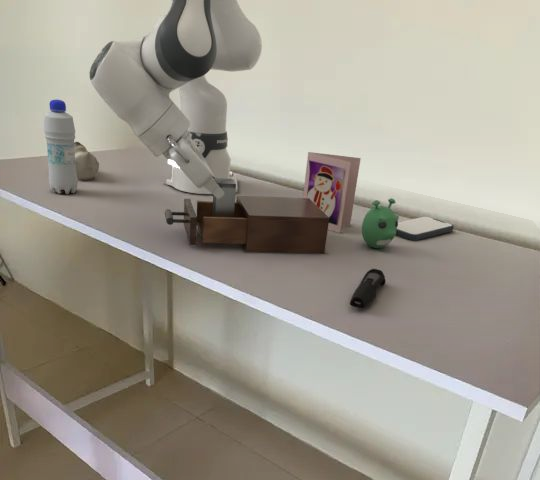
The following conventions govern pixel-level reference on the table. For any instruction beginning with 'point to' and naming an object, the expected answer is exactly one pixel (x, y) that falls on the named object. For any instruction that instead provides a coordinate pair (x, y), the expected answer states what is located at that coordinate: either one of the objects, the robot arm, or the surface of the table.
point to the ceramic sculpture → (85, 162)
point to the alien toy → (380, 225)
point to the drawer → (211, 223)
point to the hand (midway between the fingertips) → (217, 189)
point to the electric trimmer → (367, 288)
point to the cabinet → (284, 225)
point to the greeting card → (332, 186)
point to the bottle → (60, 148)
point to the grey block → (224, 199)
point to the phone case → (422, 228)
